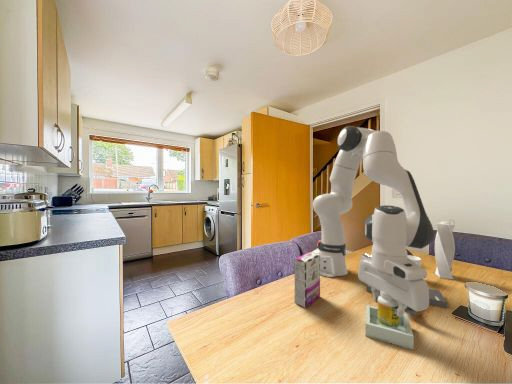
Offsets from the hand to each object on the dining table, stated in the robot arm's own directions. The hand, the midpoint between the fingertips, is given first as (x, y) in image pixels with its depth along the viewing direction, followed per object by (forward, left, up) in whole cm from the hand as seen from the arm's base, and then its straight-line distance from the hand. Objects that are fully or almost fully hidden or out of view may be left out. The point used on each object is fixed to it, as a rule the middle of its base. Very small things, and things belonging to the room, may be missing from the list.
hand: (387, 308), depth 62 cm
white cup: (+12, +47, -7) cm, 49 cm away
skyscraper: (+27, +58, -7) cm, 64 cm away
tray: (0, 0, -6) cm, 7 cm away
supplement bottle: (0, 0, -5) cm, 5 cm away
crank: (+7, +16, -5) cm, 18 cm away
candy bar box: (-25, +6, -7) cm, 27 cm away
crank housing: (+7, +25, -7) cm, 27 cm away
